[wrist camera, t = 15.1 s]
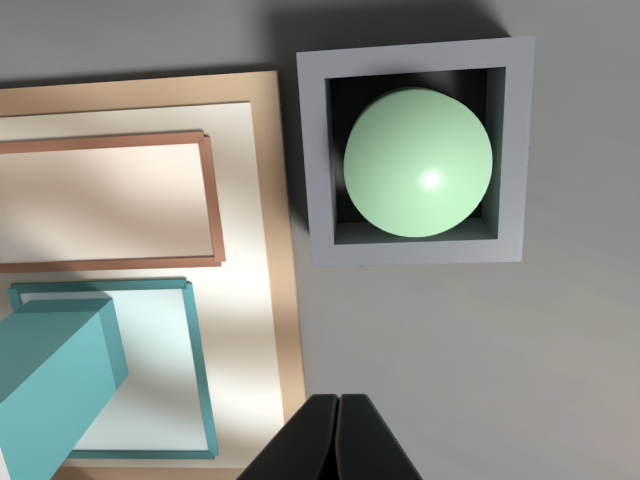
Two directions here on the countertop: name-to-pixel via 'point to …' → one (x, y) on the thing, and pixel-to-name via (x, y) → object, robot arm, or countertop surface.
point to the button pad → (500, 125)
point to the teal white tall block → (54, 380)
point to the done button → (416, 162)
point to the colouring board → (162, 260)
